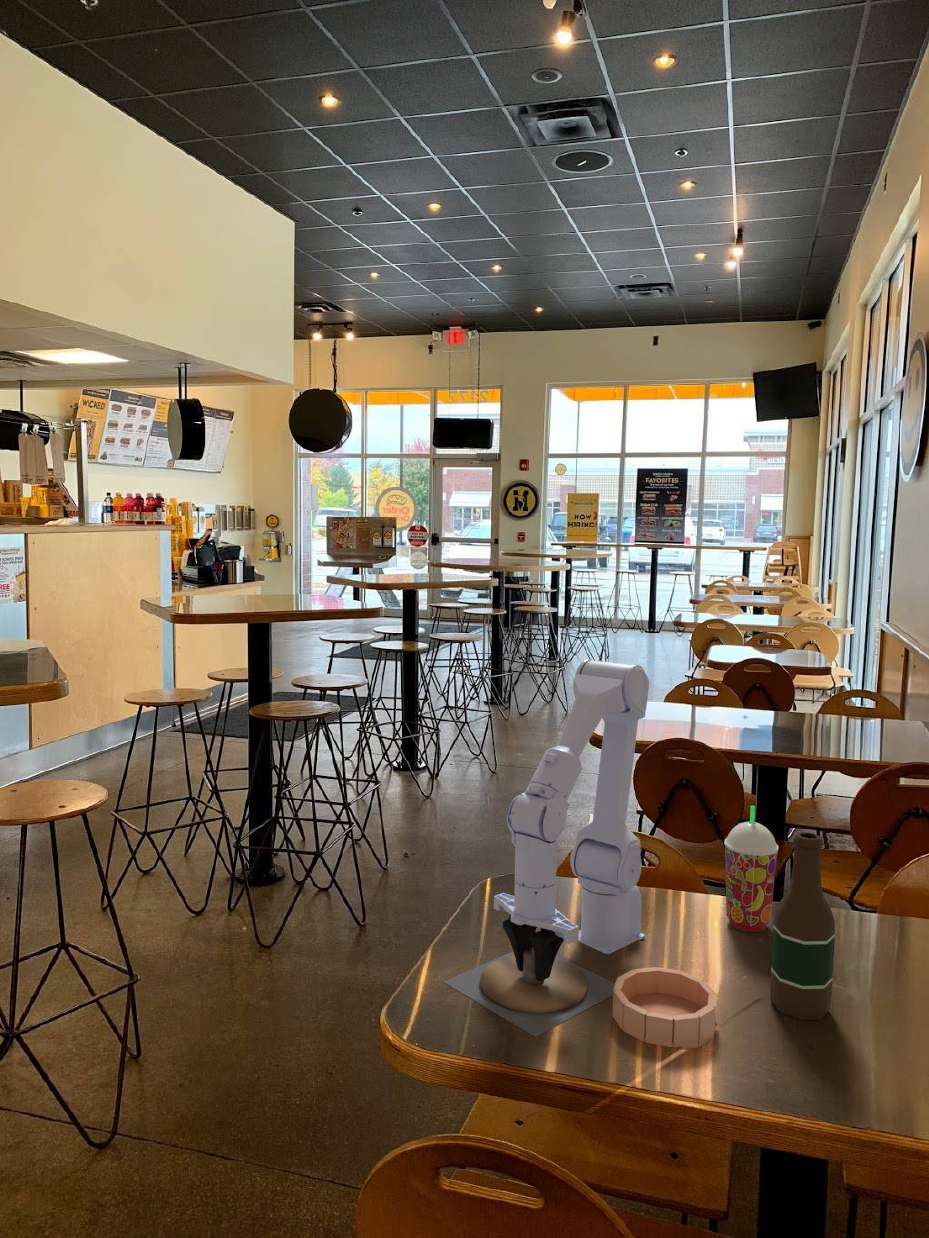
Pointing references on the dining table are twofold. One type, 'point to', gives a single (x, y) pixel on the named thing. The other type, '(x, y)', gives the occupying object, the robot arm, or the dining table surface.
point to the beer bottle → (803, 938)
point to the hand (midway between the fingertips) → (533, 973)
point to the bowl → (665, 1007)
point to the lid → (533, 985)
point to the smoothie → (750, 875)
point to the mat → (532, 1022)
